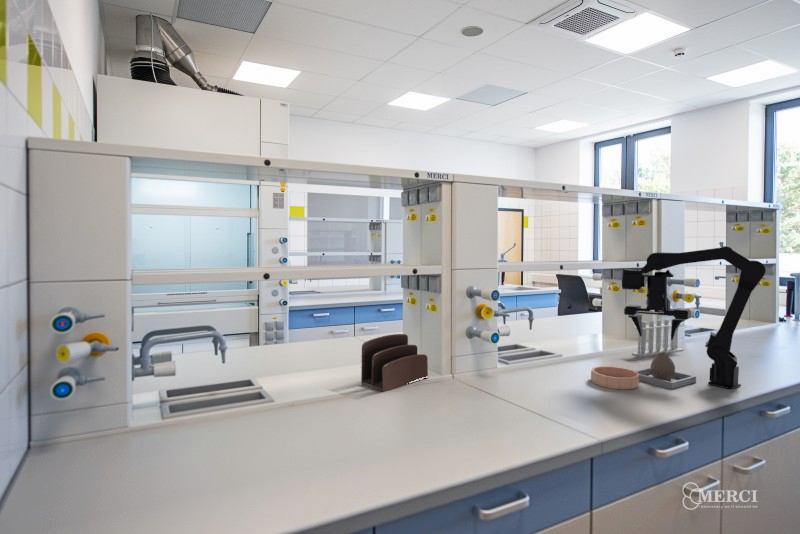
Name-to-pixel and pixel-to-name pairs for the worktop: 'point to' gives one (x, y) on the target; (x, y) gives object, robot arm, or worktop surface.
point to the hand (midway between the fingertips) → (656, 338)
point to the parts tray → (684, 380)
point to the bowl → (615, 377)
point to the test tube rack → (658, 339)
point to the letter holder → (391, 362)
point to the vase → (663, 367)
